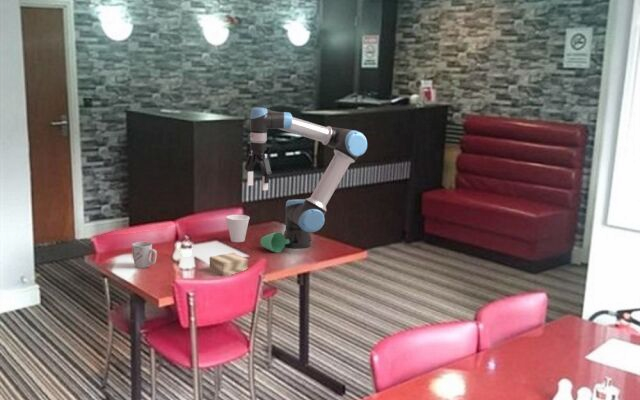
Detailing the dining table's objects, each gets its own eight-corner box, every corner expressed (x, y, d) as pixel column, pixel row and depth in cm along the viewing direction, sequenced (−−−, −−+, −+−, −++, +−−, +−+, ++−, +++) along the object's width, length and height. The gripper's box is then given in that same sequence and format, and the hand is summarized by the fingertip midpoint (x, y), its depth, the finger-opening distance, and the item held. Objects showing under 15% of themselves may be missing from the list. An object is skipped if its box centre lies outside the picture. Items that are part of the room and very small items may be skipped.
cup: (248, 244, 343) (248, 220, 341) (224, 243, 344) (224, 219, 341) (250, 238, 355) (250, 214, 353) (227, 237, 355) (227, 214, 353)
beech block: (233, 265, 307) (233, 252, 306) (247, 272, 298) (247, 259, 297) (209, 269, 300) (209, 256, 299) (223, 277, 291) (223, 263, 290)
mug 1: (161, 265, 303) (161, 243, 301) (151, 270, 295) (151, 248, 293) (139, 262, 306) (139, 240, 304) (128, 267, 298) (128, 245, 296)
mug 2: (256, 252, 332) (271, 253, 326) (256, 232, 332) (271, 232, 326) (277, 250, 343) (292, 250, 337) (277, 230, 343) (291, 231, 337)
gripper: (237, 139, 320) (237, 184, 324) (265, 145, 300) (264, 192, 304) (251, 138, 324) (251, 182, 329) (279, 144, 305) (278, 191, 309)
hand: (257, 187), depth 316 cm, fingers open, 13 cm apart
